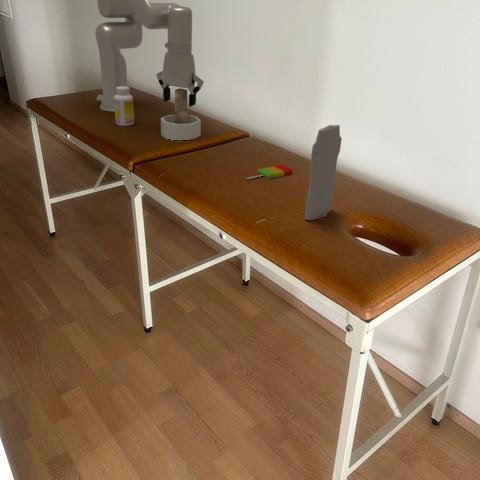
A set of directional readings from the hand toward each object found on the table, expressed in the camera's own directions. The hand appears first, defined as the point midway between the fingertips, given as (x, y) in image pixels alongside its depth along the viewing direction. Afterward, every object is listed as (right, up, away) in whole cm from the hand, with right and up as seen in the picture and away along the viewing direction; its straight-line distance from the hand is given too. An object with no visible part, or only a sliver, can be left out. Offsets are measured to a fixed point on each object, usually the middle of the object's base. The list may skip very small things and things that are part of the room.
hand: (179, 103), depth 171 cm
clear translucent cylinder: (0, -9, +5) cm, 10 cm away
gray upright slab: (+39, -40, -47) cm, 73 cm away
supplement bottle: (-21, -4, +14) cm, 26 cm away
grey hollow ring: (0, -10, +5) cm, 11 cm away
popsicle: (+28, -28, -25) cm, 46 cm away
